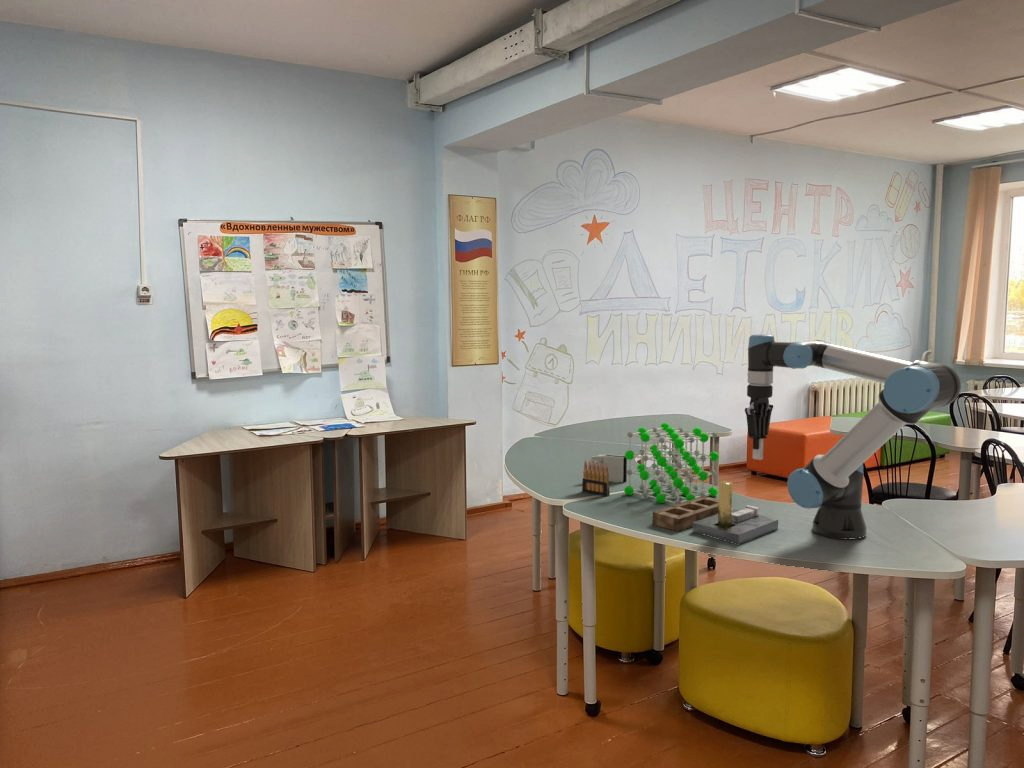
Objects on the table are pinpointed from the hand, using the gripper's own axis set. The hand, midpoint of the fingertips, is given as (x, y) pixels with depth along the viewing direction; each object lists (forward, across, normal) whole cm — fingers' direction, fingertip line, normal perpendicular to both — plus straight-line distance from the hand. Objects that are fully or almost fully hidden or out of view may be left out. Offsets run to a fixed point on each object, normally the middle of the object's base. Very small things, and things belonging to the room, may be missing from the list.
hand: (757, 458), depth 237 cm
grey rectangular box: (+21, -6, -67) cm, 71 cm away
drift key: (+18, +7, 0) cm, 19 cm away
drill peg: (+21, +17, 0) cm, 27 cm away
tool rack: (+21, +11, -16) cm, 29 cm away
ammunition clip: (+21, +11, -58) cm, 63 cm away
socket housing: (+21, +11, 0) cm, 24 cm away
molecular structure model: (+21, -7, -38) cm, 44 cm away
